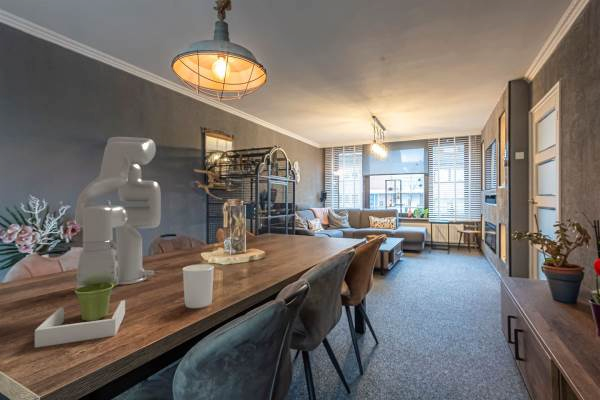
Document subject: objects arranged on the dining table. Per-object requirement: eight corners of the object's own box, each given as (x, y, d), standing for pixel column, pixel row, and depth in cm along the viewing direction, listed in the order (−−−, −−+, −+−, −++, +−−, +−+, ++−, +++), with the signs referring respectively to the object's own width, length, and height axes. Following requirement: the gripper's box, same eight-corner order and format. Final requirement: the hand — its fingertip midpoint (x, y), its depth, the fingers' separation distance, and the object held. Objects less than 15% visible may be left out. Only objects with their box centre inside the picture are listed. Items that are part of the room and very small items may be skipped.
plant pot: (72, 326, 79) (72, 294, 79) (76, 315, 88) (76, 285, 88) (113, 319, 84) (113, 289, 84) (114, 309, 92) (114, 281, 92)
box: (125, 313, 89) (125, 300, 89) (115, 335, 74) (115, 319, 74) (59, 322, 82) (59, 307, 82) (34, 347, 68) (34, 330, 68)
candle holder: (187, 299, 102) (187, 264, 102) (216, 298, 103) (216, 264, 103) (178, 309, 92) (178, 271, 92) (210, 308, 93) (210, 270, 93)
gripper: (127, 243, 97) (127, 299, 97) (72, 246, 91) (72, 305, 91) (124, 247, 90) (124, 306, 90) (63, 250, 84) (63, 314, 84)
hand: (98, 305), depth 91 cm, fingers closed
